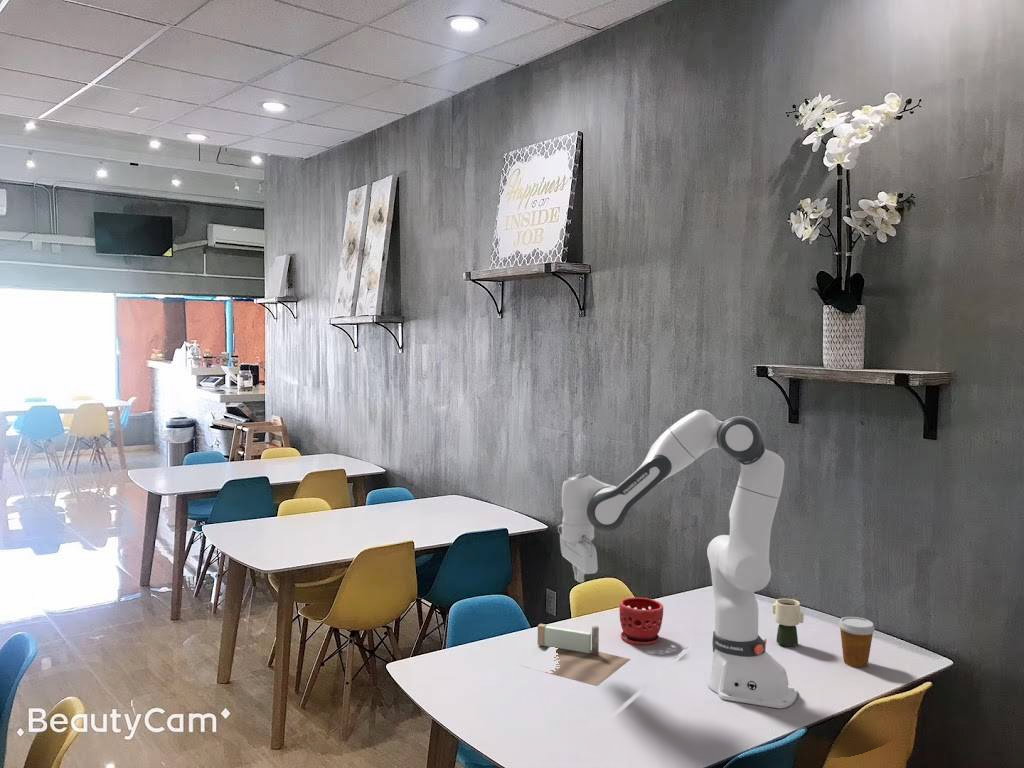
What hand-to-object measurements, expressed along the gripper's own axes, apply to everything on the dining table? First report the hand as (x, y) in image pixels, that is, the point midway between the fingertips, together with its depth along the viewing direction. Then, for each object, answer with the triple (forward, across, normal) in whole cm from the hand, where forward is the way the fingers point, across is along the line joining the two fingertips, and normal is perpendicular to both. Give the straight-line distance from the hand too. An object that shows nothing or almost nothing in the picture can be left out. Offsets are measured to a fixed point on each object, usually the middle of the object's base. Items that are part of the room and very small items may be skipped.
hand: (579, 580), depth 224 cm
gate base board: (+24, +1, +1) cm, 25 cm away
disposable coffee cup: (+27, -18, -76) cm, 83 cm away
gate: (+23, +11, +1) cm, 26 cm away
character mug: (+27, 0, -66) cm, 71 cm away
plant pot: (+26, +13, -24) cm, 37 cm away
